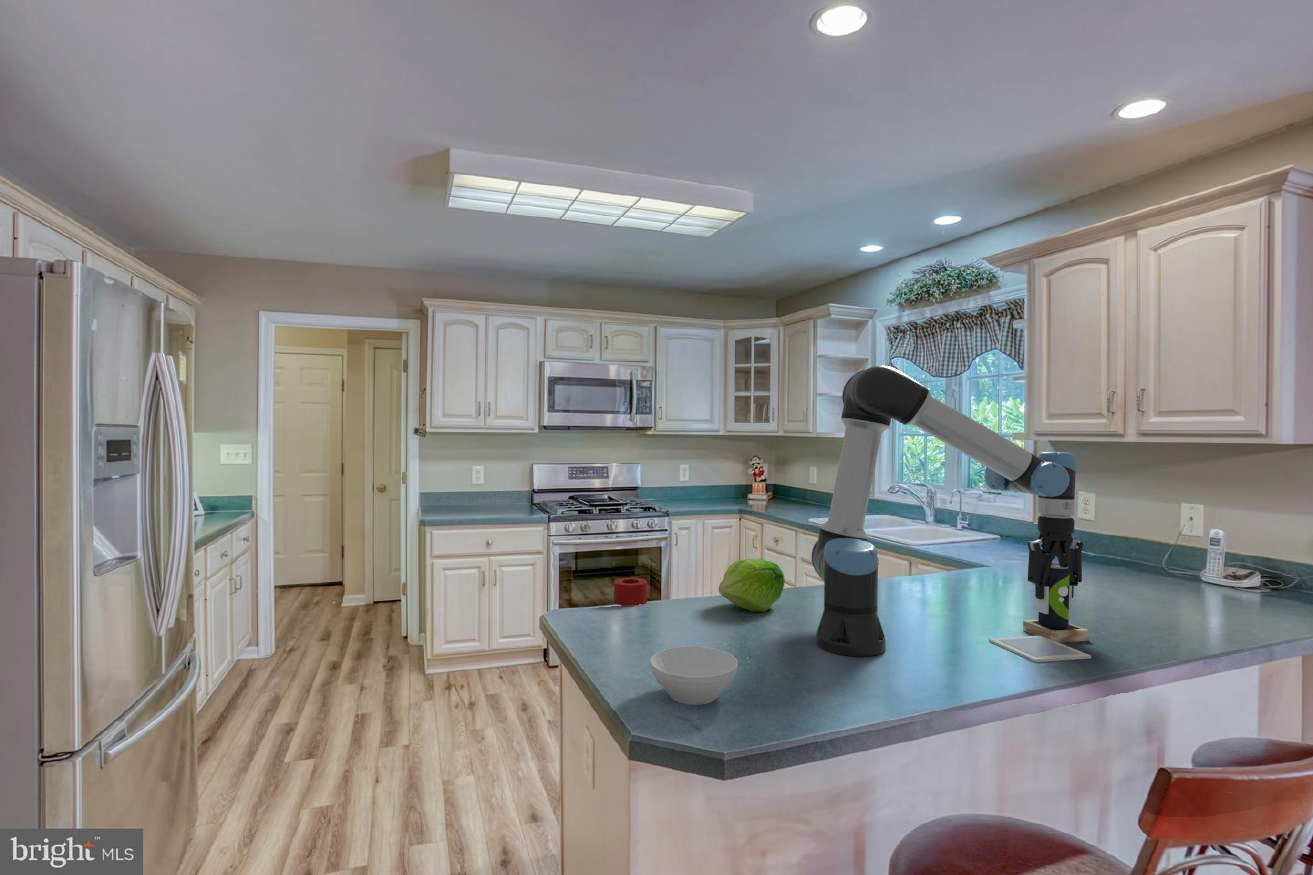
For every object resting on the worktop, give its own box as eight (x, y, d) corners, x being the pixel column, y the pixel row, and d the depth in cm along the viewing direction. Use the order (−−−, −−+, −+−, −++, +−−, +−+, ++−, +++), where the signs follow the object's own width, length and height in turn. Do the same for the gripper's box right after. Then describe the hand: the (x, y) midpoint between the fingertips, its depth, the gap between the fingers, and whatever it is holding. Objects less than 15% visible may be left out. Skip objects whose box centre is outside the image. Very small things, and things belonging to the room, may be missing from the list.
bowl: (642, 714, 109) (642, 673, 109) (656, 679, 125) (657, 643, 125) (736, 721, 107) (736, 679, 107) (739, 684, 122) (739, 648, 122)
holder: (1054, 642, 148) (1054, 632, 148) (1023, 630, 157) (1023, 620, 157) (1088, 640, 150) (1088, 630, 150) (1056, 628, 159) (1056, 618, 159)
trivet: (1034, 662, 135) (1035, 659, 135) (988, 641, 149) (988, 638, 149) (1091, 658, 138) (1091, 655, 138) (1040, 637, 152) (1040, 634, 152)
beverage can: (1035, 622, 158) (1036, 561, 158) (1064, 624, 156) (1065, 563, 156) (1041, 629, 152) (1042, 566, 152) (1071, 632, 150) (1072, 568, 150)
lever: (645, 609, 175) (645, 585, 175) (611, 608, 176) (611, 584, 176) (651, 593, 193) (651, 571, 193) (621, 592, 194) (621, 570, 194)
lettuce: (705, 606, 178) (706, 557, 178) (765, 599, 186) (766, 552, 186) (733, 620, 164) (734, 568, 164) (797, 612, 173) (797, 561, 173)
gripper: (1034, 518, 148) (1032, 617, 148) (1102, 517, 151) (1100, 614, 152) (1010, 514, 155) (1008, 609, 155) (1076, 513, 159) (1074, 606, 159)
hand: (1054, 611), depth 153 cm, fingers closed on beverage can, 6 cm apart
